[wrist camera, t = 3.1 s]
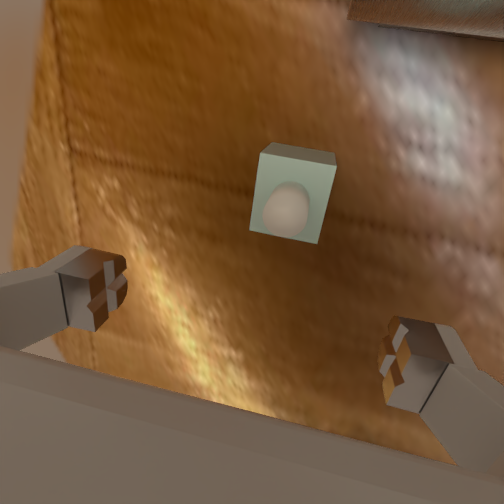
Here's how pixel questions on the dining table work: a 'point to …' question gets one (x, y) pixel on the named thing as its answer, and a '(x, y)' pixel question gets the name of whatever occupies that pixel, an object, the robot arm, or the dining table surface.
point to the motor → (435, 16)
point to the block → (292, 191)
